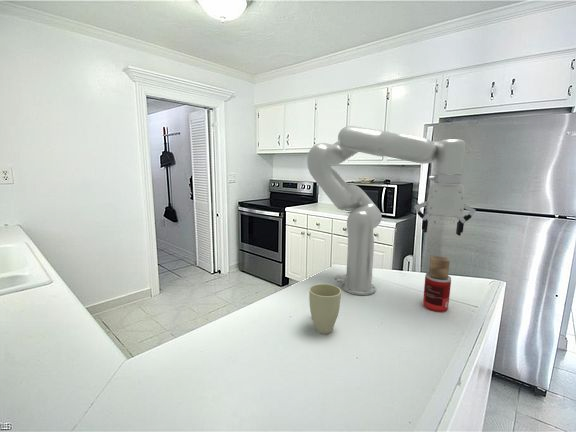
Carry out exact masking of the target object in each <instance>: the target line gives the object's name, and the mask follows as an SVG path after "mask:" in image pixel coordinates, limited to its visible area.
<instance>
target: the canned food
mask: <svg viewBox="0 0 576 432" xmlns="http://www.w3.org/2000/svg"><path fill="white" fill-rule="evenodd" d="M424 277H425V278H424V286H423V287H424V288H423V298H422V299H423V300H422V303H423V307H425V309H428V310H429V311H432V312H436V313H444V312H446V311H448V309H449V303H450V296H451V285H452V277H451V276H450V275H448V280H446V279H438V278H431V277H430V274H429V271H428V272H426V273H425V276H424Z"/></svg>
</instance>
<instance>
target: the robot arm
mask: <svg viewBox="0 0 576 432" xmlns="http://www.w3.org/2000/svg"><path fill="white" fill-rule="evenodd" d="M465 149H466V142H465V140H463V139H456V138H454V139H453V138H451V139H449V138H448V139H442V140H439V141H437V140H436V141H434V140H430V139H429V138H426V137H419V136H414V135H407V134H403V133H402V134H401V133H395V132H390V131H387V130H386V131H385V130H380V129H379V130H378V129H373V128H366V127H363V126H362V127H361V126H357V125H356V126H355V125H346V126H344V127H342V128H341V129H340V131H339V132H338V135H337V141H336V142H334V143H333V144H332V143H327V142H326V143H325V142H320V143H317V144H315V145H313V146H312V147H311V148H310V150H309V151H308V154H307V155H308V156H307V161H306V163H307V168H308V171H309V174H310V176H311V177H312V179H313V180H314V181H315V182H316V183H317V185H318V186H319V187H320V188H321V189H322V191H323V192H324V194H325V195H326V196H327V197H328V199H329V200H330V201H331V202H332V203H333V205H334V206H335V207H336V208H337V209H338V210H340V211H348V210H349V211H350V213H349V215H348V216H347V219H346V229H347V257H346V259H347V260H346V274H344V275H339V274H335V277H334V280H336V282H338V283H341V288H342V289H343V290H344V291H345V292H347V293H349V294H352V295H357V296H368V295H373V294H374V293H375V292H376V290H377V289H376V285H374V284H373V270H374V269H373V265H374V250H375V249H374V247H375V242H374V241H375V237H374V229H376V228H377V227H379V225H380V224H381V221H382V213H381V211H380V209H379V208H378V206H377V205H376V204H375V203H374V202H373V200H372V199H371V198H370V197H369V196H368V195H367V193H366V192H365V191H364V190H363V189H362V188H361V187H359V186H358V185H355V184H349V183H347V182H346V181H345V180H344V179H343V178H342V176H340V174H339V173H338V172H337V171H336V170H335V169H334V168H333V167H334V166H338V165H340V164H342V163H343V162H345V161H347V160H348V159H350V158H351V157H353V156H355V155H356V154H358V153H362V154H367V155H372V156H377V157H381V158H382V157H385V158H386V157H387V158H392V159H397V160H402V161H407V162H412V163H416V164H421V165H422V164H424V165H425V164H433V163H434V164H435V169H434V174H433V175H429V177H428V180H429V181H432V182H433V183H431V184H430V187H429V191H428V195H427V200H425V201H424V202H421V203H419V204H416V205H414V208H415V209H414V210H415V211H416V213H417V215H418V216H419V218H421V219H422V223H421V230H423V233H428V223H429V220H428V219H429V218H430V217H431V216H434V217H446V218H457V220H458V221H457V222H456V229H455V230H456V231H455V233H456V235H457V236H460V237H461V235H462V234H463V233H464V226H465V225H464V224H466V222H468V221H469V220H470V219H471V218H472V217H473V216H474V214H475V213H476V211H477V210H476V209H475V208H473V207H471V206H469V205H467V204H466V203H465V186H464V184H461V183H462V175H463V169H464V159H465ZM421 208H426V209H425V210H426V212H425V213H423V212H422V210H421ZM464 210H466V211H468V212H467V214H465V215H464ZM463 215H464V216H463Z"/></svg>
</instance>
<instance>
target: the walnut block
mask: <svg viewBox="0 0 576 432" xmlns="http://www.w3.org/2000/svg"><path fill="white" fill-rule="evenodd" d="M450 262H451V261H450V260H449V258H448V257H447V256H439V255H438V256H437V255H430V256H429V268H428V272H429V274H430V277H431V278H438V279H446V280H448V276H449V273H450V272H449V271H450V269H449V268H450V264H451V263H450Z"/></svg>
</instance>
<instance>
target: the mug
mask: <svg viewBox="0 0 576 432" xmlns="http://www.w3.org/2000/svg"><path fill="white" fill-rule="evenodd" d="M308 293H309V311H310V315H311V319H312V323H313V326H314V328H315V331H316V332H317V333H319V334H323V335H326V334H330V333H332V331H333V330H334V327H335V325H336V323H337V322H336V321H337V319H338V317H339V313H340V307H341V297H342V295H341V294H342V290H341V288H340V287H338V286H336V285H333V284H330V283H317V284H313V285H310V286H309V289H308Z"/></svg>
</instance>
